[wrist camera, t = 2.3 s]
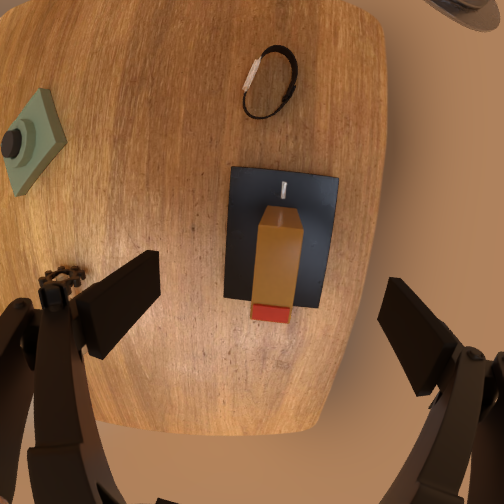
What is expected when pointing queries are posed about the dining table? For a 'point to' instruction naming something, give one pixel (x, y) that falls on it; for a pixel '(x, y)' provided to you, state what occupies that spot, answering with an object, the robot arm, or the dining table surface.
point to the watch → (253, 71)
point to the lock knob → (276, 264)
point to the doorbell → (35, 141)
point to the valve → (65, 282)
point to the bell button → (11, 143)
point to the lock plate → (249, 216)
